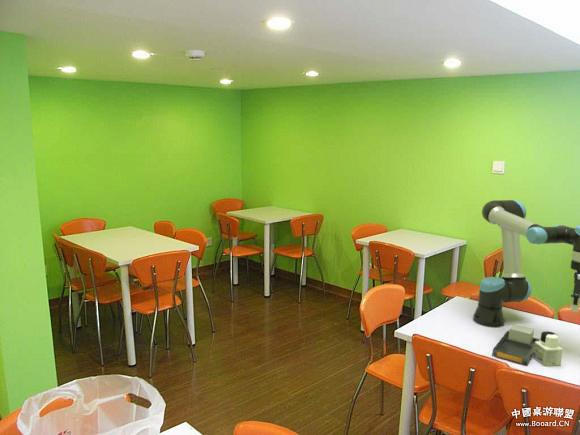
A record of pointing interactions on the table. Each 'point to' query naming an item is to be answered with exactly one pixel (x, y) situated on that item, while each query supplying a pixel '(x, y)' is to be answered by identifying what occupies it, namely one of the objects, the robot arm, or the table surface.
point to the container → (548, 349)
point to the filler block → (521, 334)
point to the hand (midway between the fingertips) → (575, 307)
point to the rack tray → (514, 350)
